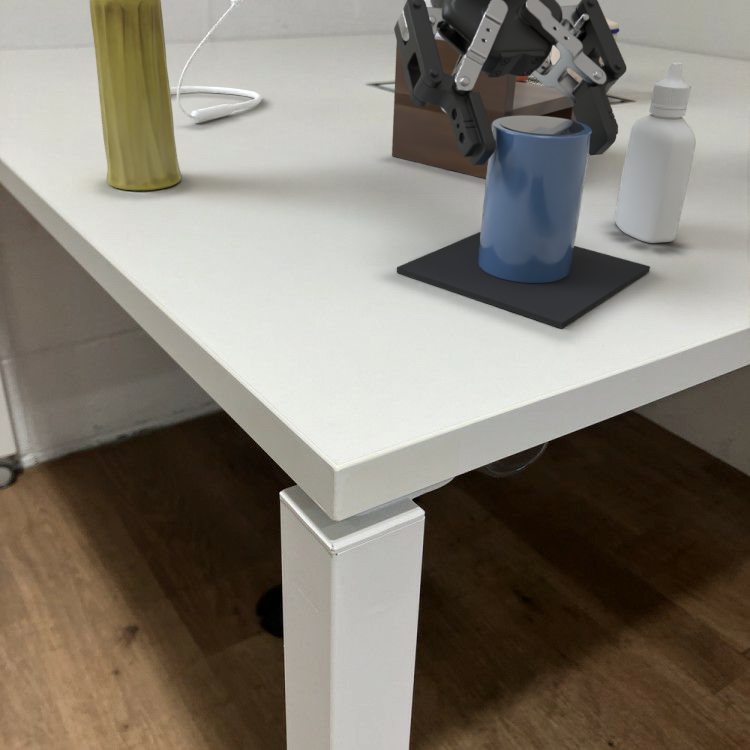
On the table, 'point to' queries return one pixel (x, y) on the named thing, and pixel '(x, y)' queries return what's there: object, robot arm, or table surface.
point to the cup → (533, 198)
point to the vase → (134, 94)
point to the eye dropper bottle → (657, 164)
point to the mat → (534, 300)
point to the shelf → (432, 125)
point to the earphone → (214, 88)
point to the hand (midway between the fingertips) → (546, 153)
